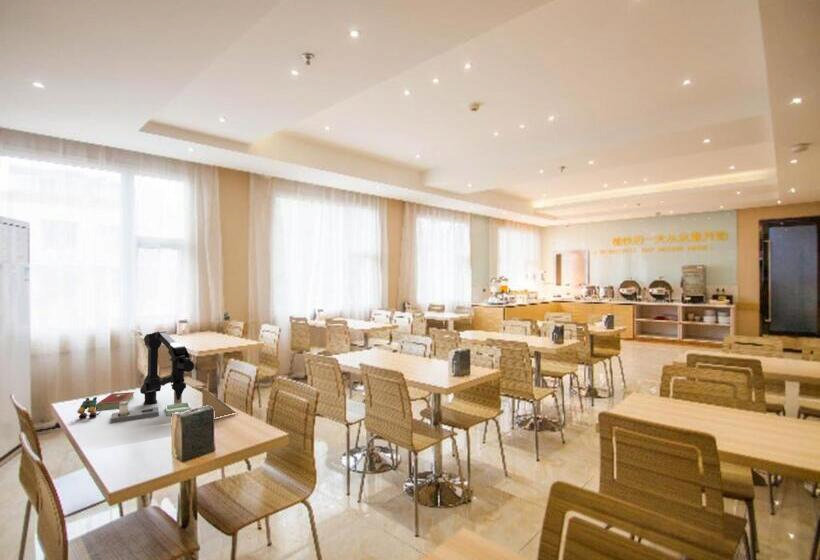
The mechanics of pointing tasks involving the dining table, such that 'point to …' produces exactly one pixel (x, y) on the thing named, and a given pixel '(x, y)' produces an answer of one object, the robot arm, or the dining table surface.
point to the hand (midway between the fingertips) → (177, 398)
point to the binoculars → (91, 405)
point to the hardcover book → (114, 400)
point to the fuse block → (135, 414)
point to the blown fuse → (177, 402)
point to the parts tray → (177, 408)
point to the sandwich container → (215, 404)
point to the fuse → (123, 408)
